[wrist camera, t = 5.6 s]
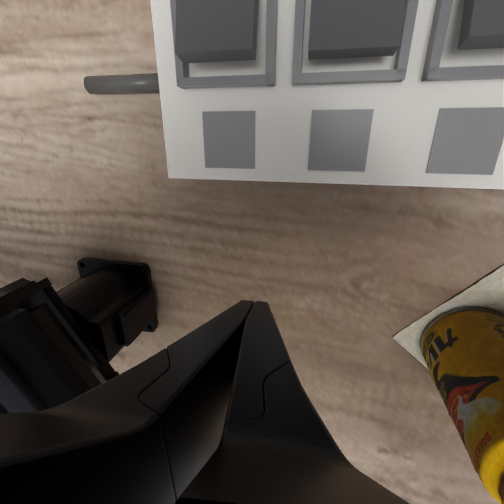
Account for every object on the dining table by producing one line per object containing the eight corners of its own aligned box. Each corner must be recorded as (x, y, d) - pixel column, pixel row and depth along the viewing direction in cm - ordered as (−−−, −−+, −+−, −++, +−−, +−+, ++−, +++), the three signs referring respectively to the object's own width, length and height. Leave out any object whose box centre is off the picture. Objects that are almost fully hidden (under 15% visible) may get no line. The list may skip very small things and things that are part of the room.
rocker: (183, 63, 14) (173, 51, 13) (186, -40, 14) (175, -61, 12) (255, 59, 13) (251, 46, 12) (261, -50, 13) (257, -72, 12)
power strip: (109, 171, 21) (75, 176, 18) (76, -19, 17) (26, -51, 14) (513, 183, 16) (557, 193, 13) (601, -79, 12) (692, -149, 9)
